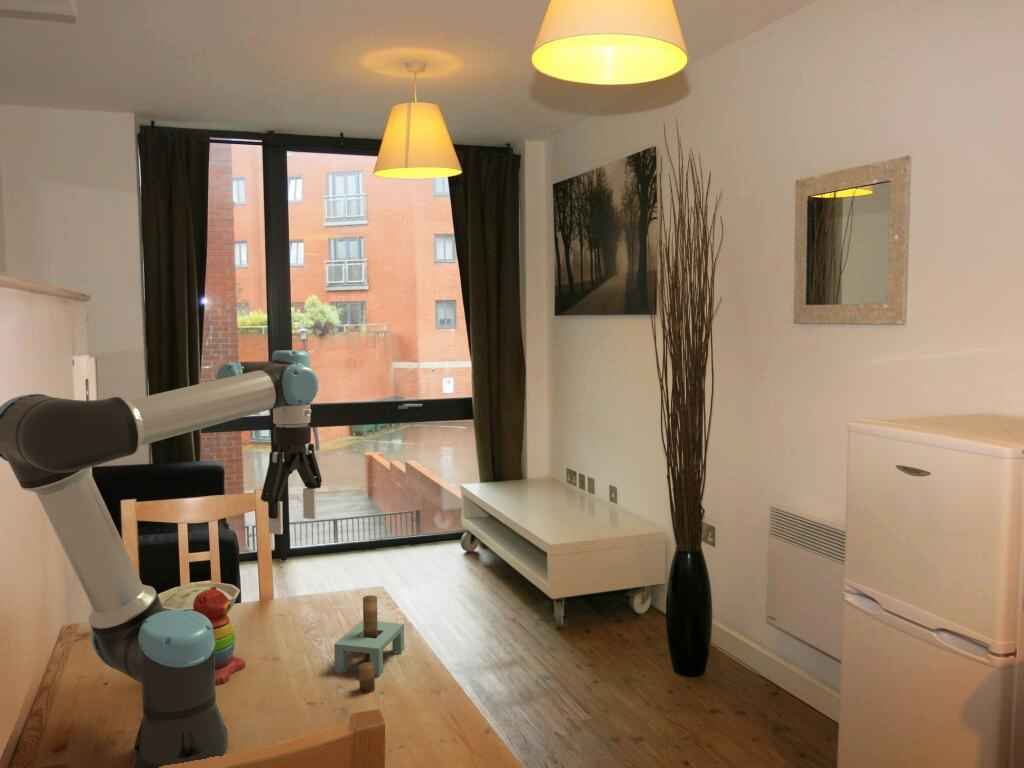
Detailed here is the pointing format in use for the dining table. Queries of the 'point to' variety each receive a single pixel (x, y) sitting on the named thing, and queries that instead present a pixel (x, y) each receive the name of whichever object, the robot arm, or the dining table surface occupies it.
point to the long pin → (370, 620)
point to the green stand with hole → (369, 644)
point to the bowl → (194, 595)
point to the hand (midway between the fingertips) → (293, 525)
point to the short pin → (367, 677)
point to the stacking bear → (219, 632)
